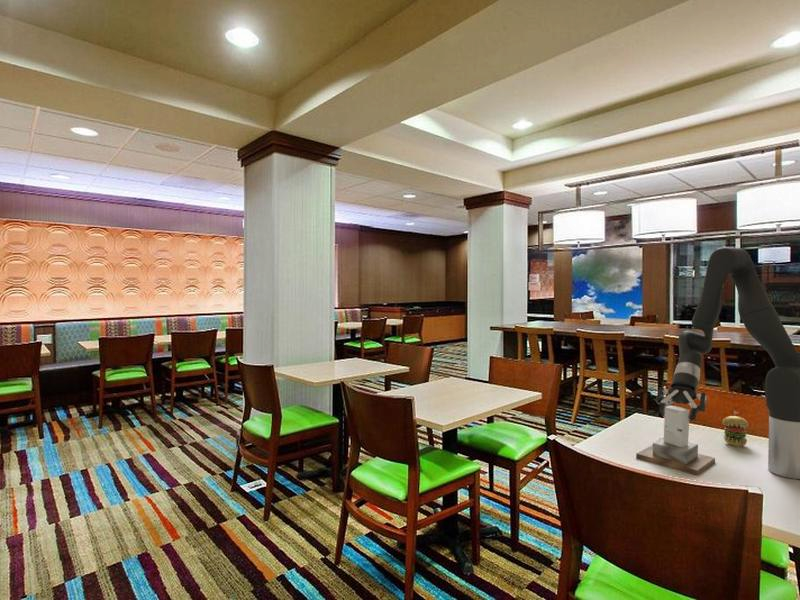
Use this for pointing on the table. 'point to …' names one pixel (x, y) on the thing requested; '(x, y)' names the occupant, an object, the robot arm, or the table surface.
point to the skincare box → (676, 426)
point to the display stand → (676, 457)
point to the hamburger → (735, 430)
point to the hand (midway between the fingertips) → (676, 417)
